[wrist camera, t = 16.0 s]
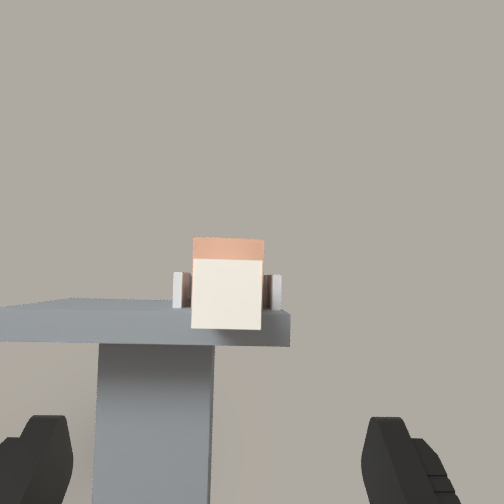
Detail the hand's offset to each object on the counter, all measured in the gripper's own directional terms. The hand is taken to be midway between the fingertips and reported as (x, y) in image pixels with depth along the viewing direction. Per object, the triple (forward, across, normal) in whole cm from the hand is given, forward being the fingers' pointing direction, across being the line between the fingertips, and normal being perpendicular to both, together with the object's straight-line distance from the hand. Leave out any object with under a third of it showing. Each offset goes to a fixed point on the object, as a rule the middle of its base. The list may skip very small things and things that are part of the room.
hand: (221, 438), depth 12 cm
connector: (+15, 0, -6) cm, 16 cm away
